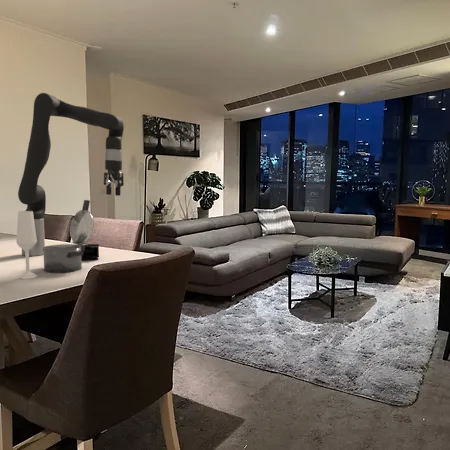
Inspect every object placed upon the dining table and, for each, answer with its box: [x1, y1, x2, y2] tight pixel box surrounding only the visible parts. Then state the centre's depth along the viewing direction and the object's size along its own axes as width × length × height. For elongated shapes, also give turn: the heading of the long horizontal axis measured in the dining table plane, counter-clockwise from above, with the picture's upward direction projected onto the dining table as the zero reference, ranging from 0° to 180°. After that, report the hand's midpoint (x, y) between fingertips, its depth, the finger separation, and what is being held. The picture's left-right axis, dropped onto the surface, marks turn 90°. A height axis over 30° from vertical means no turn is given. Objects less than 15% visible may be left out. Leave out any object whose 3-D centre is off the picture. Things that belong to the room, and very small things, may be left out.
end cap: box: [81, 243, 100, 262], centre depth 182 cm, size 10×7×7 cm
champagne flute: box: [15, 210, 39, 280], centre depth 146 cm, size 7×7×24 cm
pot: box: [43, 243, 86, 274], centre depth 161 cm, size 16×20×9 cm
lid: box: [69, 199, 95, 245], centre depth 167 cm, size 19×14×1 cm
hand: (113, 195), depth 186 cm, fingers open, 8 cm apart
